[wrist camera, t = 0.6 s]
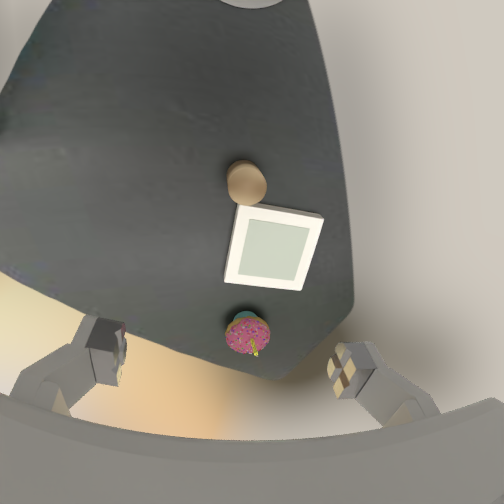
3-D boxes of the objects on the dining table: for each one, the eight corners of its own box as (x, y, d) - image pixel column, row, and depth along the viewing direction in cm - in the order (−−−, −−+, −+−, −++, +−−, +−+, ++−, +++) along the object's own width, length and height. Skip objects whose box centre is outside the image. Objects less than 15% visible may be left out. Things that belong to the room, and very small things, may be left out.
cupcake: (232, 298, 57) (237, 343, 47) (273, 308, 59) (285, 352, 49) (219, 331, 61) (221, 375, 50) (257, 339, 63) (265, 382, 52)
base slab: (238, 199, 48) (239, 205, 46) (319, 214, 51) (324, 219, 49) (223, 274, 54) (224, 282, 52) (297, 283, 57) (301, 291, 55)
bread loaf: (229, 157, 45) (232, 165, 39) (262, 163, 46) (270, 172, 40) (223, 189, 47) (225, 202, 41) (256, 194, 48) (262, 208, 42)
